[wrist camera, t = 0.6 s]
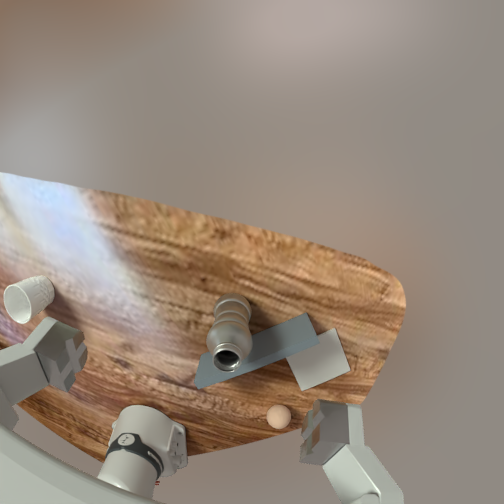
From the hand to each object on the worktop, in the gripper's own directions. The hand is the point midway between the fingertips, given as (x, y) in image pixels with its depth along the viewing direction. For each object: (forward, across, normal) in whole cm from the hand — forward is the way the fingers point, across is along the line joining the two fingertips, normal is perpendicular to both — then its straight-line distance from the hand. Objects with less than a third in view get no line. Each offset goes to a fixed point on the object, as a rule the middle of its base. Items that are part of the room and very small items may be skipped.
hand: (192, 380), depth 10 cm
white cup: (+34, -42, -36) cm, 65 cm away
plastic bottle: (+40, -1, -30) cm, 49 cm away
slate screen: (+37, +6, -36) cm, 52 cm away
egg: (+33, +14, -50) cm, 62 cm away
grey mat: (+38, +18, -37) cm, 56 cm away
